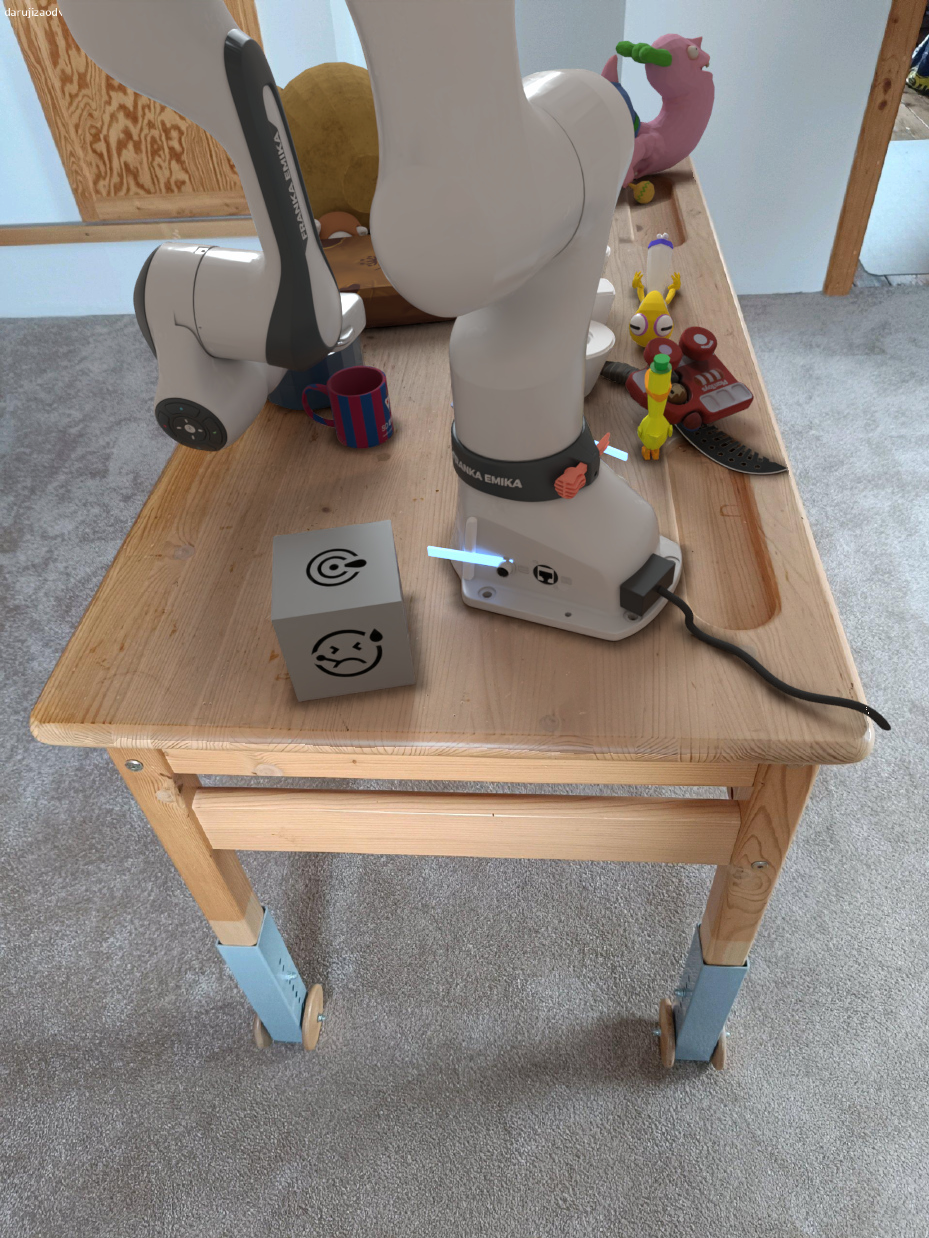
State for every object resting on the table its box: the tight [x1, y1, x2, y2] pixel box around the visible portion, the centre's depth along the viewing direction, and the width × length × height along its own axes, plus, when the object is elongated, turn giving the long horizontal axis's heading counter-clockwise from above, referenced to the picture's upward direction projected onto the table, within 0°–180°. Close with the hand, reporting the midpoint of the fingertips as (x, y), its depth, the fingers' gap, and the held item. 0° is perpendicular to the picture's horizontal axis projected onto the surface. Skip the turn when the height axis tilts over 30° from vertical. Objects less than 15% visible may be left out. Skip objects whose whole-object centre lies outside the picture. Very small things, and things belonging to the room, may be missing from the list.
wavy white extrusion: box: [584, 245, 616, 398], centre depth 106 cm, size 35×16×11 cm, turn 172°
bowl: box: [266, 333, 366, 411], centre depth 105 cm, size 13×13×7 cm
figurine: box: [315, 211, 369, 239], centre depth 128 cm, size 9×9×12 cm
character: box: [628, 232, 682, 348], centre depth 110 cm, size 6×10×20 cm
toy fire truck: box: [624, 325, 755, 431], centre depth 94 cm, size 7×12×10 cm
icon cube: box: [270, 519, 416, 703], centre depth 71 cm, size 10×10×10 cm
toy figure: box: [636, 354, 673, 461], centre depth 88 cm, size 7×4×12 cm, turn 178°
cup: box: [302, 365, 395, 450], centre depth 97 cm, size 7×10×7 cm
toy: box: [600, 33, 716, 205], centre depth 141 cm, size 24×24×30 cm
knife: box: [599, 360, 789, 475], centre depth 96 cm, size 28×2×5 cm
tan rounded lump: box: [277, 61, 379, 231], centre depth 135 cm, size 24×24×30 cm
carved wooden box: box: [320, 234, 457, 329], centre depth 120 cm, size 23×19×6 cm
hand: (296, 286), depth 99 cm, fingers open, 5 cm apart
